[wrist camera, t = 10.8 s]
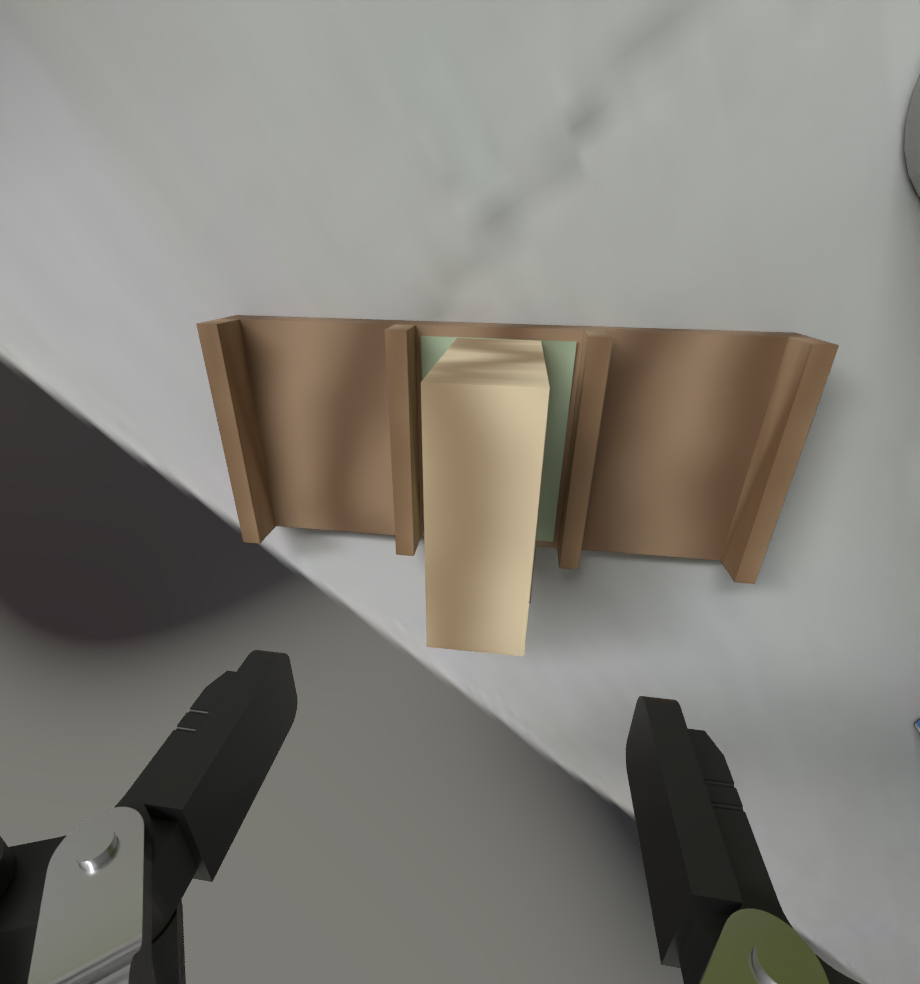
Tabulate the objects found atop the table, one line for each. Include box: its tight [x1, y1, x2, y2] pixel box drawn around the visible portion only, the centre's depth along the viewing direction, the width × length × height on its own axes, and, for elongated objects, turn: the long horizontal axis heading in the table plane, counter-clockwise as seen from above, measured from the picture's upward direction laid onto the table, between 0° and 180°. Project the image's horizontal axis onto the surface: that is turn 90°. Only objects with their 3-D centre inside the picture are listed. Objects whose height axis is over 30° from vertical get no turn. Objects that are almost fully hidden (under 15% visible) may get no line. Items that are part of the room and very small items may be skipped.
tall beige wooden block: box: [421, 338, 550, 656], centre depth 21 cm, size 4×11×9 cm, turn 179°
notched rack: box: [197, 315, 839, 584], centre depth 25 cm, size 28×12×4 cm, turn 89°
